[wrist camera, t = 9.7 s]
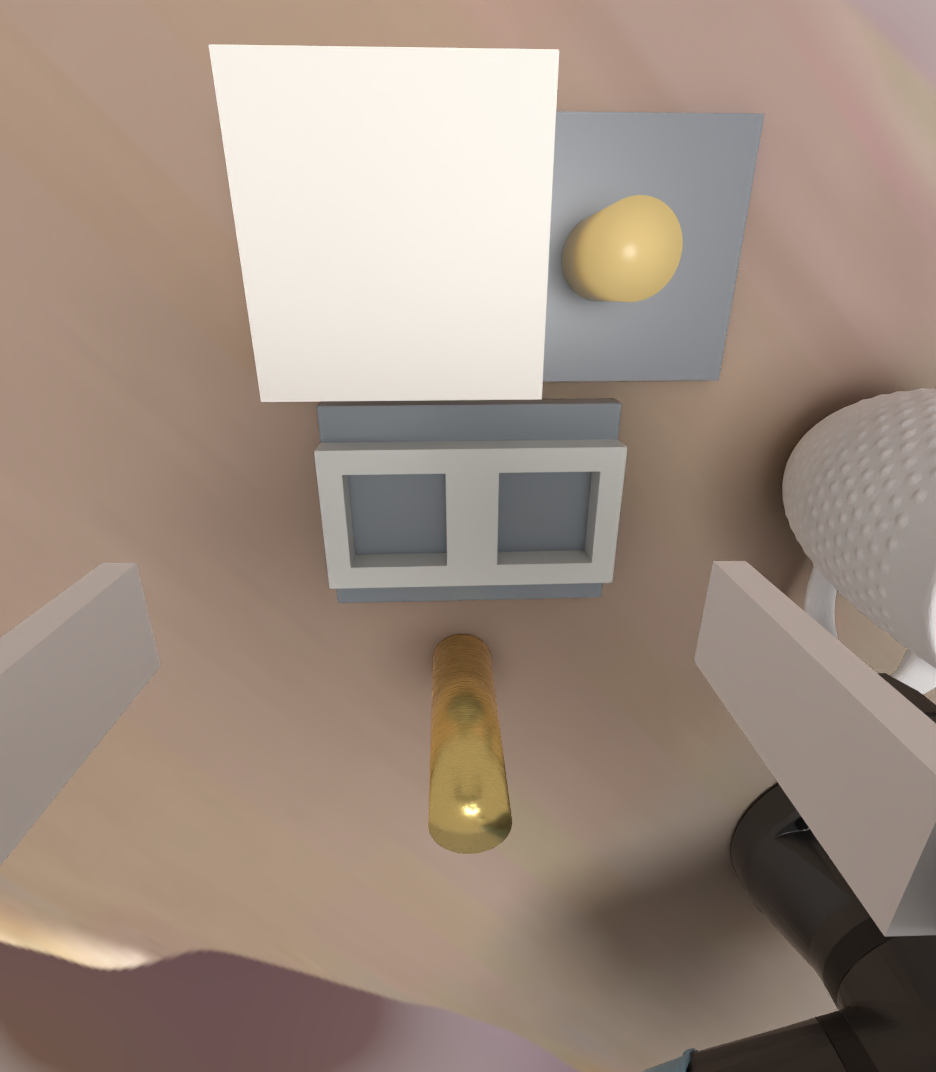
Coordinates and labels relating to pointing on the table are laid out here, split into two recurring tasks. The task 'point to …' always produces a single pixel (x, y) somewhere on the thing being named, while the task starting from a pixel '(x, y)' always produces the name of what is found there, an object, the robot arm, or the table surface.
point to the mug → (872, 520)
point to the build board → (422, 493)
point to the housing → (391, 217)
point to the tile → (708, 234)
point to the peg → (466, 750)
